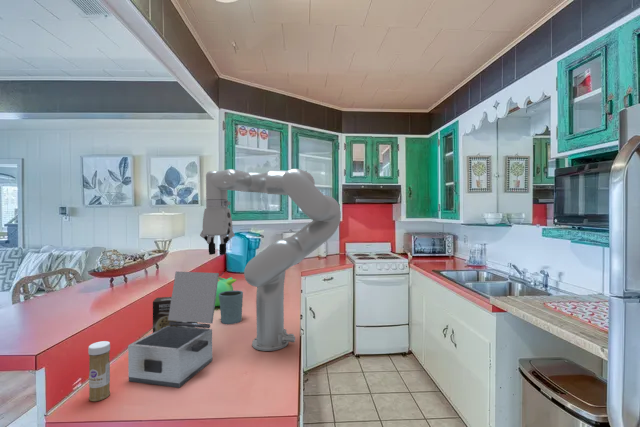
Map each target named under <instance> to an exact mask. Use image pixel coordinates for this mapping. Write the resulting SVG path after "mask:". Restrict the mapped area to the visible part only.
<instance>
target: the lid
mask: <svg viewBox="0 0 640 427" xmlns="http://www.w3.org/2000/svg"><path fill="white" fill-rule="evenodd" d="M174 274H175V275H174V281H173V288H172V293H171V297H172V298H171V304H170V311H169V317H168V320H172V321H170V322H169V325H175V326H187V327H194V328H206V329H211V324H213V321H214V314H215V308H216V306H215V300H216V292H217V284H218V277H220V276H219V275H220V273H218V272H204V271H203V272H199V271H198V272H196V271H175V273H174ZM174 321H185V322H174ZM187 322H198V323H187Z"/></svg>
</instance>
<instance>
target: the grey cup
mask: <svg viewBox="0 0 640 427" xmlns="http://www.w3.org/2000/svg"><path fill="white" fill-rule="evenodd" d="M243 296H244V292H243V290H233V291H225V292H221V293H219V301H220V306H219V308H220V309H219V311H220V322H221V324H224V325H233V324H234V325H235V324H238V323H240V322H241V321H242V320H243V319H242V318H243Z"/></svg>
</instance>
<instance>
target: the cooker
mask: <svg viewBox="0 0 640 427" xmlns="http://www.w3.org/2000/svg"><path fill="white" fill-rule="evenodd" d="M127 347H128V348H127V349H128V352H127V353H128V355H127V356H128V362H127V363H128V370H127V371H128V382H129V383H130V382H132V383H139V384H148V385H154V386H160V387H161V386H163V387H168V388H170V387H171V388H176V389H177V388H178V389H180V388H181V387H182V386H183V385H185V384H186V383H187V382H189V381H190V380H191V379H192V378H194V377H195V376H196V375H197V374H198V373H200V371H202V370H203V369H205V368H206V367H207V366H208V365H209V364H210V363H212V362H213V328H199V327H194V328H193V327H181V326H169V325H168V326H166V327H164V328H162V329H160V330H158V331H156V332H154V333H153V332H152V333H150V334H148V335H146V336H144V337H142V338H140V339H137V340H135V341H134V342H131V343H130V344H128V346H127Z"/></svg>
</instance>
